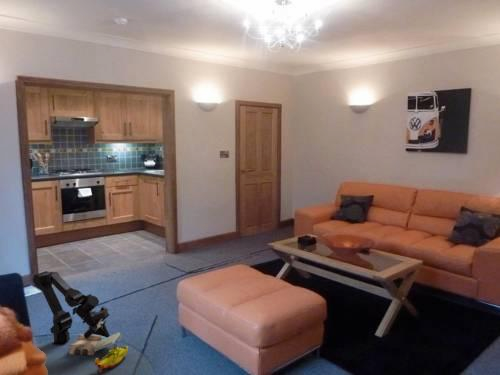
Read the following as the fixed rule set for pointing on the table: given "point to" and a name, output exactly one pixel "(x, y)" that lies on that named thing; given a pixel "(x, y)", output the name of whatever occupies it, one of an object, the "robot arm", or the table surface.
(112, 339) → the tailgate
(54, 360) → the table surface
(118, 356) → the toy boat
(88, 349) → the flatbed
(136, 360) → the table surface
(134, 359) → the table surface
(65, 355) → the table surface
